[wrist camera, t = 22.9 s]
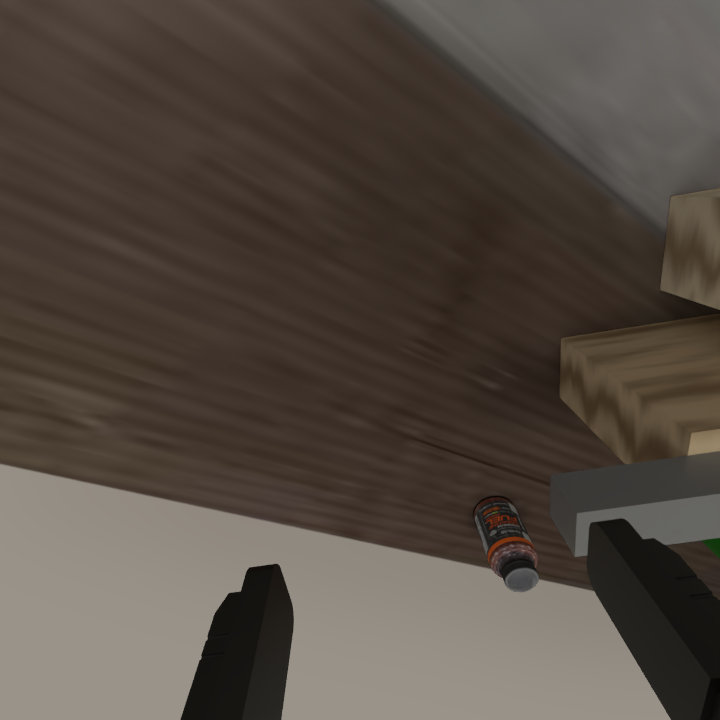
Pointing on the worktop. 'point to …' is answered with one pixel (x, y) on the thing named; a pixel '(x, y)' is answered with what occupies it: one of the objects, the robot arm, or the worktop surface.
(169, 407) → the worktop surface
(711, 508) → the grey and tan bar
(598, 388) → the stand
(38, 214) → the worktop surface
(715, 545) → the motor
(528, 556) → the supplement bottle
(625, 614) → the robot arm
